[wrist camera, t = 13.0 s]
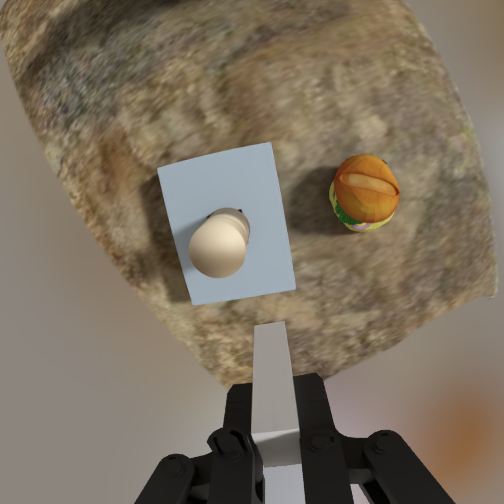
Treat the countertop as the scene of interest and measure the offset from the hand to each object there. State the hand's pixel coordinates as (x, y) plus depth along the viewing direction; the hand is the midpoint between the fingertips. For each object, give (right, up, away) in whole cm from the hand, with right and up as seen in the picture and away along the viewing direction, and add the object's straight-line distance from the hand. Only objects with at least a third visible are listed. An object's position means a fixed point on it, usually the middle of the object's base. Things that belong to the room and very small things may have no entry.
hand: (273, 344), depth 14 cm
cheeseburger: (+15, +14, +25) cm, 32 cm away
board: (-4, +9, +27) cm, 28 cm away
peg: (-4, +9, +26) cm, 28 cm away
